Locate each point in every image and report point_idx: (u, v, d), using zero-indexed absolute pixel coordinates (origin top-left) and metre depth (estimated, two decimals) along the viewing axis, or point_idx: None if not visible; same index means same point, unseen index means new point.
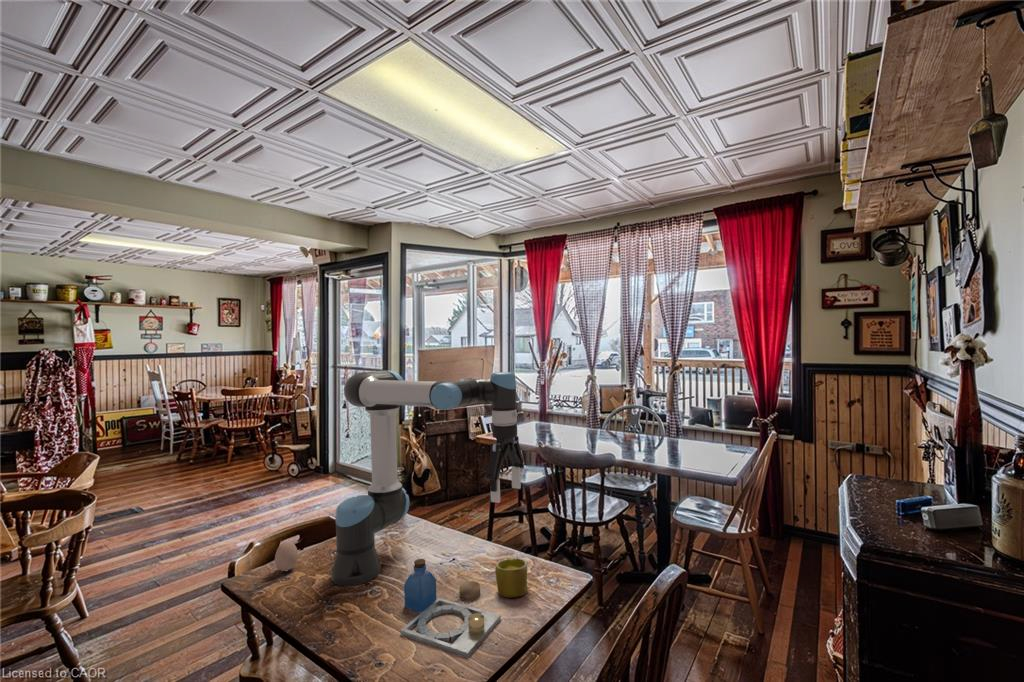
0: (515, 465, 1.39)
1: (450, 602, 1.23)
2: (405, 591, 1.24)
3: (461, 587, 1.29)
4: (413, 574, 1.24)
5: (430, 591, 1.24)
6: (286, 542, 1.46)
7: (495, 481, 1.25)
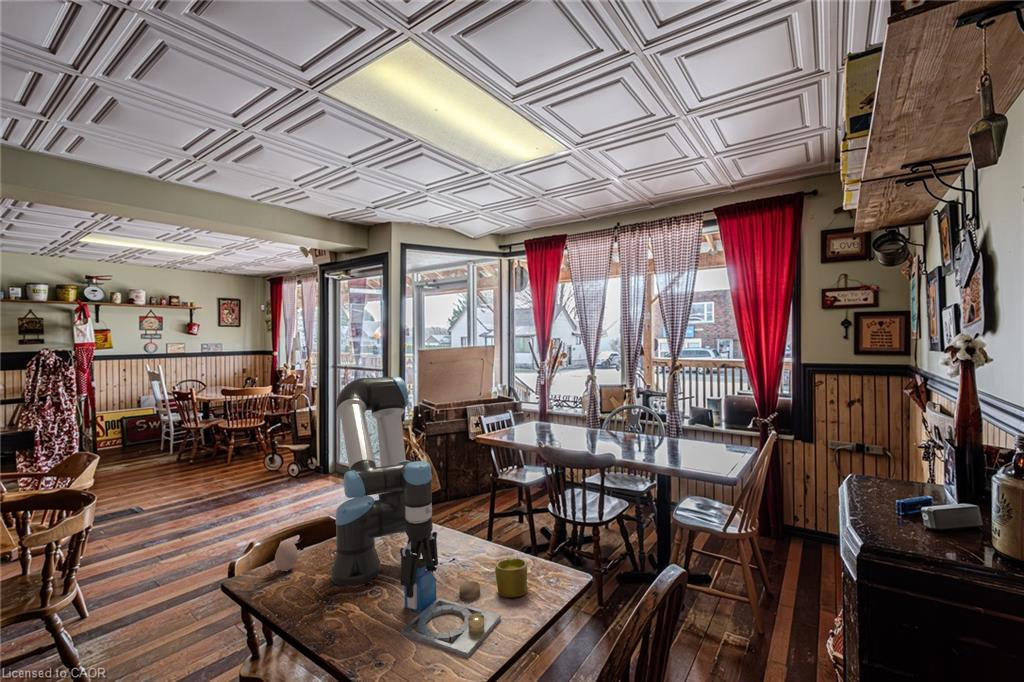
0: (428, 569, 1.28)
1: (450, 602, 1.23)
2: (405, 591, 1.23)
3: (461, 587, 1.29)
4: None
5: (430, 590, 1.24)
6: (286, 542, 1.46)
7: (411, 587, 1.20)
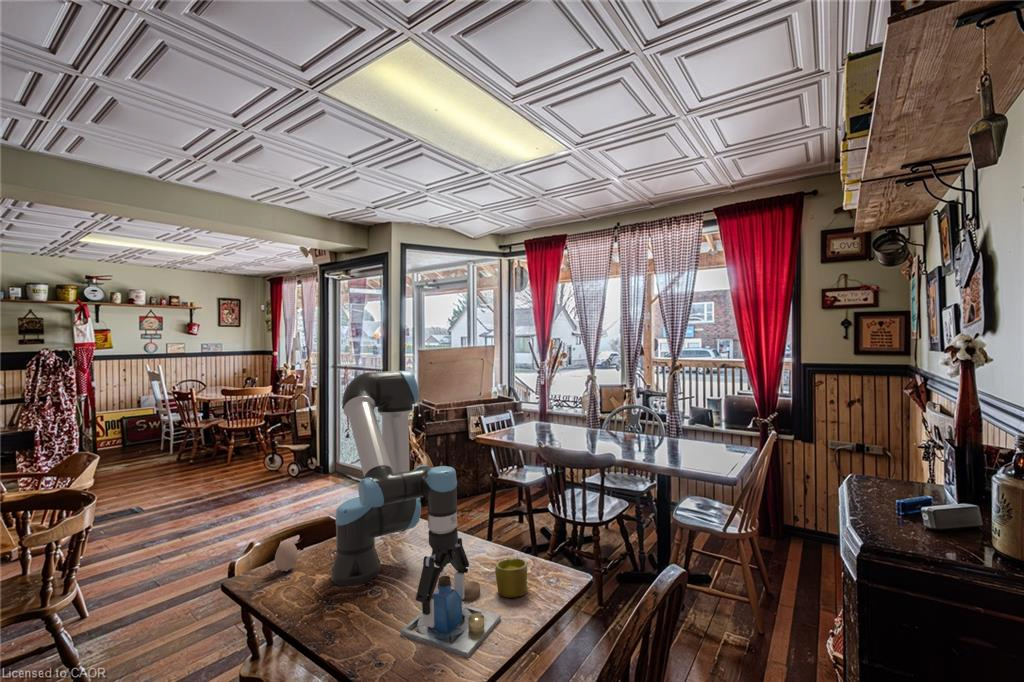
0: (458, 570, 1.21)
1: None
2: None
3: None
4: (437, 593, 1.14)
5: (455, 611, 1.14)
6: (286, 542, 1.46)
7: (428, 602, 1.08)
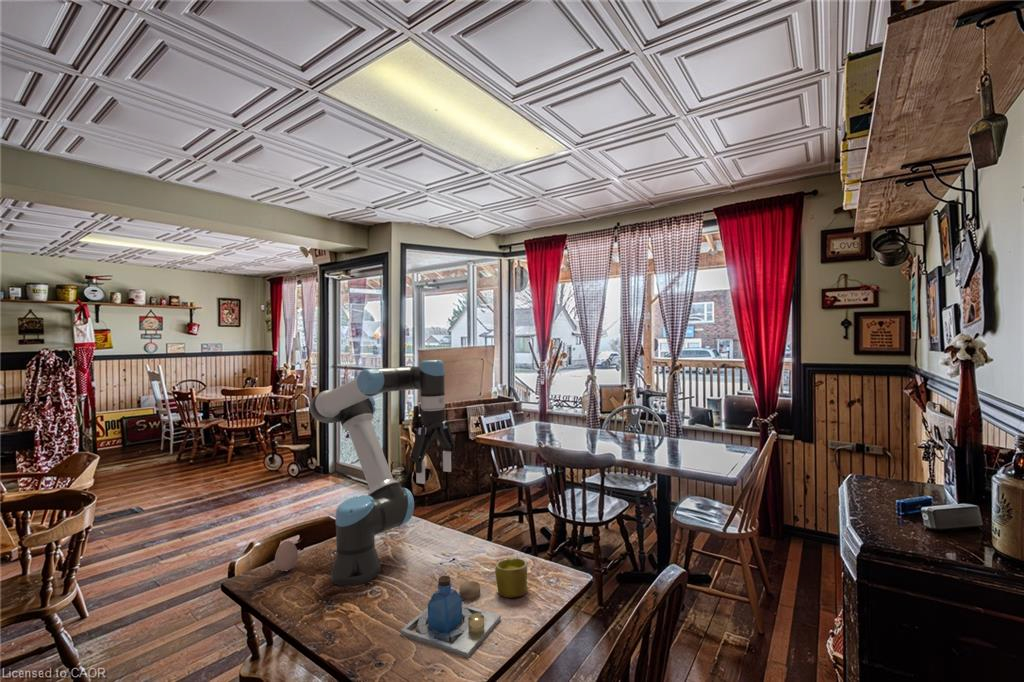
0: (446, 449, 1.45)
1: None
2: (429, 611, 1.14)
3: (461, 587, 1.29)
4: (437, 593, 1.14)
5: (455, 611, 1.14)
6: (286, 542, 1.46)
7: (420, 463, 1.31)
